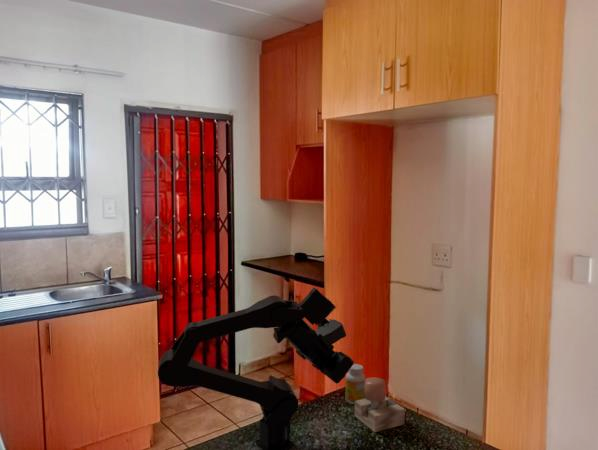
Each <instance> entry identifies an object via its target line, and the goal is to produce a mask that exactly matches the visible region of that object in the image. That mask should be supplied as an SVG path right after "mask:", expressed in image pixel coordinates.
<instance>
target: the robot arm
mask: <svg viewBox="0 0 598 450" xmlns="http://www.w3.org/2000/svg"><path fill="white" fill-rule="evenodd" d="M336 308H337V307H336V305H334V303H333V302H332V301H331V300H330V299H329V298H327V297H326V296H325V295H324V294H323V293H321V292H320V291H319V289H317V288H316V287H313V288H312V289H311V290H310V291H309V293H308V294H307V295H306V296H305V297H304V298H303V299H302V300H301V302H299V303H298V302H297V301H294V300H293V301H292V300H284V299H283V298H282V297H280V296H279V295H276V294H275V295H270V296H267V297H264V298H262V299H260V300H258V301H257V302H255V303H254V304H252V305H251V306H249V307H247V308H244V309H241V310H237V311H236V310H235V311H234V312H233V311H232V312H229V313H225V314H222V315H217V316H213V317H210V318H207V319H206V318H205V319H203V320H199V321H191V322H189V323H187V325H185V328H184V330H183V331H182V333H181V334H180V335H179V337H177V338H176V340H175V342H174V343H173V345H172V346H171V348H170V349H168V350H166V351H165V352H164V353H163V354H161V356H160V358H159V362H158V369H157V377H158V379H159V381H160V383H161V384H162V385H163V386H166V387H167V386H168V387H174V388H189V387H200V388H204V389H208V390H210V391H214V392H216V393H217V392H218V393H222V394H225V395H228V396H232V397H236V398H239V399H243V400H245V401H250V402H253V403H256V404H257V405H259V407H260V410H261V412H262V418H260V419H259V438H257V439H256V440H255V444H256V445H258V446H259V447H261V448H262V449H263V450H285V449H287V448H289V447H291V446H293V445H294V441H292V440H291V419H292V417H293V415H294V414H295V413H296V412H297V410H298V408H299V399H298V397H297V395H296V393H295V392H294V390H293V387H292V385H290V383H288V382H287V380H286V379H285V378H277V377H276V376H274V375H269V376H268V380H265V381H260V380H256V379H253V378H249V377H246V376H242V375H238V374H237V373H236V374H235V373H232V372H230V371H226V370H222V369H219V368H215V367H212V366H208V365H205V364H202V363H201V362H200V361H198V360H197V359H195V358H194V357H193V356H194V354H195V352H196V350H197V348H198V346H199V345H200V343H202V342H205V341H209V340H213V339H217V338H220V337H224V336H228V335H232V334H235V333H238V332H241V331H245V330H248V329H256V328H257V329H271V328H273V335H272V336H273V339H274V340H275V341H276V343H277V344H280V343H282V342H283V340H284V339H286V340H287V341H288V342H289V343H290V344H291V345H292V346H293V348H294V349H295V353H296V354H297V355H298V356H299V357H300V358H301V359H302V360H304V361H306V360H307V361H308V362H310V363H311V366H312V367H314V368H315V369H316V370H318V371H320V373H321V374H323V375H324V376H326V377H327V378H328V379H330V381H332V382H334V383H335V384H340V383H341V381H342V380H343V379H344V378H346V374H347V373H348V372H349V369H350V368H351V367H352V366H353V364H355V363H354V362H355V361H354V360H353V359H352V358H351V356H348V355H347V354H346V353H344V352H342V351H335V350H334V349H335V346H334V345H333V344H336V343H338V342H339V341H340V340H342V339H345V337H347V333H346V330H345V328H344V325H343V323H342V322H340V321H339V320H337V319H331V318H329V319H327V318H328V317H329V315H331V314H332V313H333V311H334V310H335V309H336ZM304 319H305V320H307V321H308V322H309V323H310V324H311V325H312V326H314V325H315V326H317V327H316V328H317V329H316V330H315V329H314V328H312V327H311V326H310V325H309V324H308V323H307V322H306V321H305V320H304Z"/></svg>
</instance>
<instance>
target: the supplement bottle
mask: <svg viewBox="0 0 598 450" xmlns="http://www.w3.org/2000/svg"><path fill="white" fill-rule="evenodd" d="M365 375H366V374H364V366H363V365H361V364H358V363H354V364H353V366H352V367H351V368H350V369H349V371H348V372H347V373H346V375H345V393H344V394H345V395H344V396H345V397H344V398H345V401H346V402H347V403H348V404H351V405H355V401H357V400H361V399H366V398H365V380H366V376H365Z"/></svg>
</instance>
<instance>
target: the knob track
mask: <svg viewBox="0 0 598 450" xmlns="http://www.w3.org/2000/svg"><path fill="white" fill-rule="evenodd" d="M367 407H371V401H370V400H367V399H366V398H365V399H361V400H357V401H355V404H354V417H355V418H356V419H357V420H359V421H360V422H362V423H363V424H364V425H365V426H366V427H367V428H369V429H370V430H371V431H373V433H377V432H382V431H385V430H389V429H392V428H395V427H400V426H403V425H405V420H406V419H405V415H406V412H405V411H406V409H405V408H404V407H403V406H402V405H399V404H398V403H397V402H395V401H394V400H392V399H391V398H389V397H388V396H386V395H385V400H383V401H380V402H379V407H380V409H376V410H371V411H368V415H367Z"/></svg>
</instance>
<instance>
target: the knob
mask: <svg viewBox="0 0 598 450" xmlns="http://www.w3.org/2000/svg"><path fill="white" fill-rule="evenodd" d="M386 384H387V382H386V380H384V379H383V378H380V377H374V376H373V377H367V378H365V399H367V400H370V401H371V407H367V415H368V411H371V410H376V409H380V407H379V402H380V401H383V400H385V396H386V390H387V389H386Z"/></svg>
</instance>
